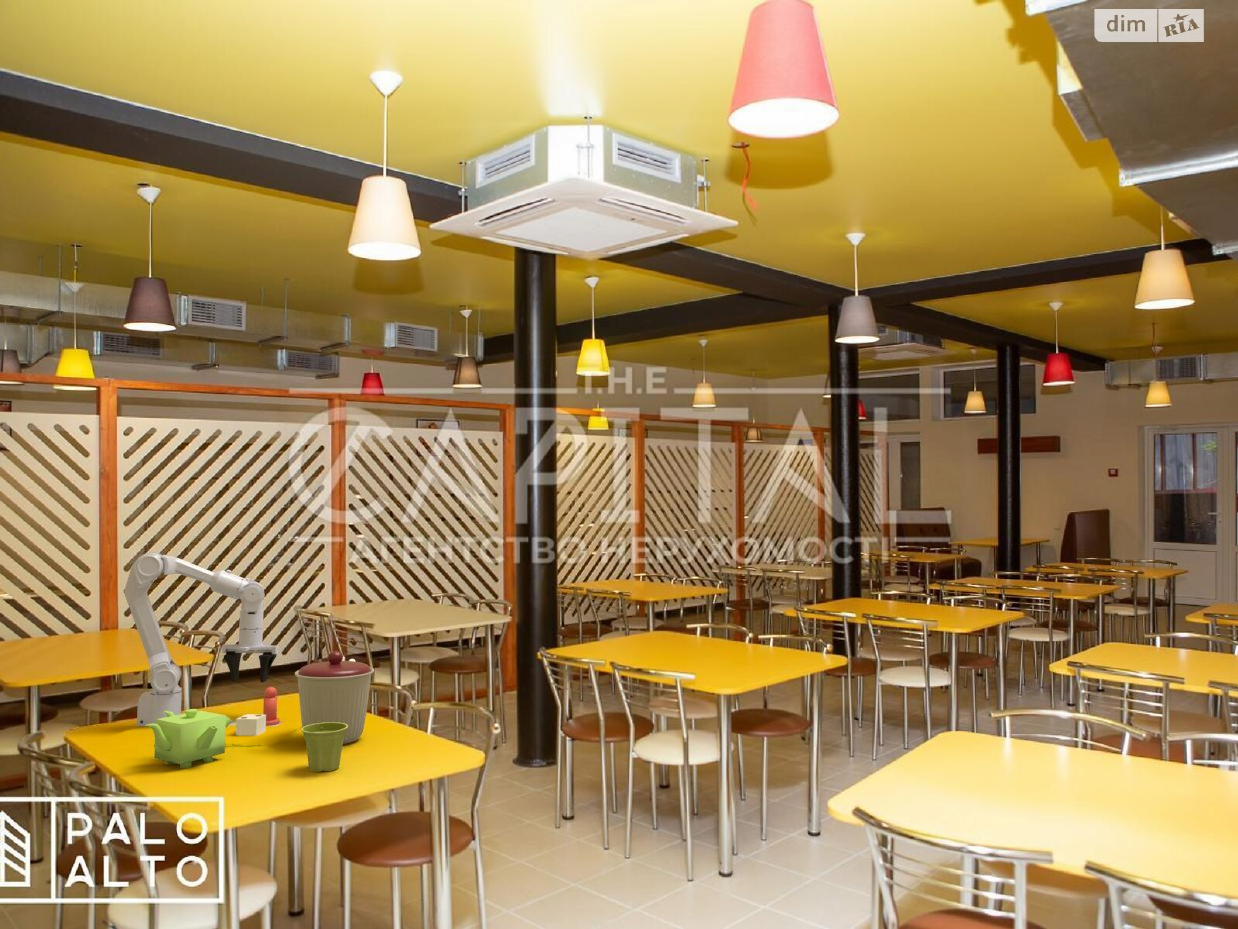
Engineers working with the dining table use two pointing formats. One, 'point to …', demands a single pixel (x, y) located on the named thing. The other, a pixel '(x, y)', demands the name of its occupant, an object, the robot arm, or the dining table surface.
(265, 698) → the pawn
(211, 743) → the kettle
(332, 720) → the canister
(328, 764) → the plant pot
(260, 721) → the die
